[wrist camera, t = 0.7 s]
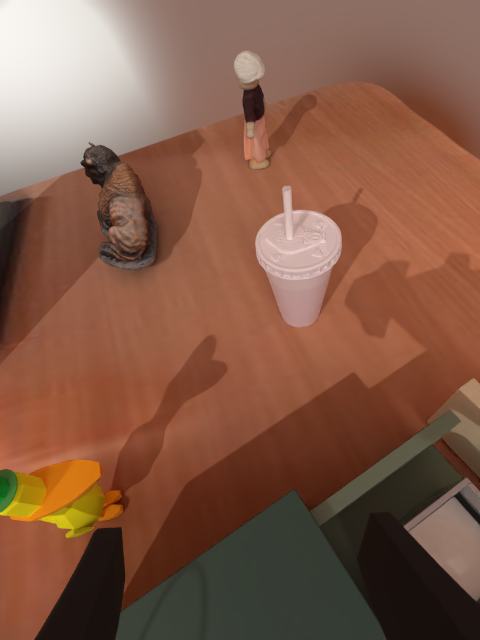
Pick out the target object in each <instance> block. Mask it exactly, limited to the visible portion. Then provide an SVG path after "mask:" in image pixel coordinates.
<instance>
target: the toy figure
mask: <svg viewBox="0 0 480 640" xmlns="http://www.w3.org/2000/svg"><path fill="white" fill-rule="evenodd" d="M102 473H103V468H102V467H101V465H100V463H99V462H95V461H89V460H84V459H83V460H69V461H65V462H61V463H58V464H54V465H50V466H47V467H44V468H42V469H39V470H37V471H34V472H32V473H30V474H29V475H28V474H24V473H20V472H13V471H12V470H8V469H4V470H1V471H0V515H6V516H10V519H13V520H22V521H35V520H42V521H46V522H51V523H56V524H57V526H58V528H67V529H72V530H70V531H69V532H68V533H66V538H71V537H77V536H80V535H82V534H85V533H87V532H88V531H90V530H92V529H93V528H95V527H91V526H92V525H93V524H94V523H95V522H96V521H97V520H98V521H104V520H110V519H114V518H117V517H118V516H119V515H120V514H122V513H123V512H124V511H123V505H116V504H115V503H116V502H117V501H119V500H120V499H121V498H122V493H121V491H120V490H112V491H108V492H107V493H105V494H103V492H102V490H101V489H100V487H99V485H98V484H96V482H97V481H98V479H99V478H100V477H101V475H102ZM106 506H107V507H106ZM103 507H106V508H105V509H103Z"/></svg>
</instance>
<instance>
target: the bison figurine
mask: <svg viewBox="0 0 480 640" xmlns="http://www.w3.org/2000/svg"><path fill="white" fill-rule="evenodd" d="M89 144H90V145H91V146H92V147H90V148H87V149H86V151H85V153H84V156H83V157H84V160H82V161H81V165H82V166H84V167H85V174H86V176H88V177H89V178H91V180H92V182H93V184H99V185H101V187H102V190H101V192H100V195H99V197H100V201H99V202H98V209H99V210H98V211H97V215H98V219H99V222H100V225H101V230H102V232H103V233H104V234H105V235H106V236H107V237H108V239H109V240H110V242H102V245H100V248H99V250H98V251H99V256H100V259H101V260H102V261H103V262H105V263H106V264H108V265H111V266H113V267H117V268H122V269H127V270H138V269H142V268H145V267H148V266H150V265H151V264H152V263H154V261H155V258H156V252H157V235H158V232H157V226H156V222H155V220H154V217H153V214H152V209H151V205H150V201H149V199H148V198H147V196H146V195H145V192H144V189H143V187H142V185H141V181H140V180H139V178H138V176H137V175H136V174H135V173H134V171H133V169H132V168H131V167H130V166H129V165H128V164H126V163H124V162H121V160H120V159H119V157H118V156H117V155H116V154H115V153H114V152H113V151H112V150H111V149H109V148H107V147H105V146H102V145H99V146H95V145H93V144H92V143H90V142H89Z"/></svg>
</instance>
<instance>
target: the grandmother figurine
mask: <svg viewBox="0 0 480 640" xmlns="http://www.w3.org/2000/svg"><path fill="white" fill-rule="evenodd" d="M234 71H235V73H236V75H237V82H238V84H239V86H240V87H241V88H242V89H244V94H243V108H244V114H245V125H244V156H245V159H246V160H248V159H250V162H249V167H250V168H251V169H261V168H266V167H268V166H269V161H268V159H266V158H268V157H270V155H271V151H270V150H269V149H268V148H269V144H268V138H267V132H266V127H265V120H264V109H265V108H266V102H265V100H264V95H263V93H262V90H261V88H260V86H259V84H258V83H259V80H260V79H262V77H263V76H264V74H265V67H264V65H263V63H262V61H261V59H260V57H259V56H258V55H256V54H254V53H252V52H250V51H244V52H242V53H240V54H239V55H238V56H237V57H236V60H235V62H234Z"/></svg>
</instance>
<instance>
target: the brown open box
mask: <svg viewBox="0 0 480 640" xmlns="http://www.w3.org/2000/svg"><path fill="white" fill-rule="evenodd" d="M399 522H400V523H401V525H402V526H403V527H404V528H405V529H406V530H407V531H408V532H409V533H410V534H411V535H412V536H413V537H414V538H415V539H416V540H417V542H418V543H419V544H420V545H421V546H422V547H423V548H424V549H425V550H426V551H427V552H428V553H429V554H430V555H431V556H432V557H433V558H434V559H435V560H436V561H437V562H438V564H439V565H440V566H441V567H442V568H443V569H444V570H445V571H446V572H447V573H448V574H449V575H450V576H451V577H452V578H453V579H454V580H455V581H456V582H457V583H458V584H459V585H460V586H461V587H462V588H463V589H464V590H465V591H466V592H467V593H468V594H469V595H470V596H471V597H472V598H473V599H474V600H475V601H476V602H477V603H478V604H479V605H480V491H479V490H478V489H477V487H476V486H475V485H474V484H473V483H472V482H471V481H470V480H469V479H468V478H467V477H465V478H463V479H461V480H458V481H456V482H454V483H451V484H449V485H446V486H444V487H442V488H441V489H439V490H438V491H437V492H435V493H434V494H433V495H431V496H430V497H429V498H428V499H426V500H425V501H424V502H422V503H421V504H420V505H418V506H417V507H416V508H415V509H413V510H412V511H411V512H409V513H408V514H407V515H406V516H404V517H403V518H402V519H400V520H399ZM358 553H359V552H357V553H356V554H357V556H358Z"/></svg>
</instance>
